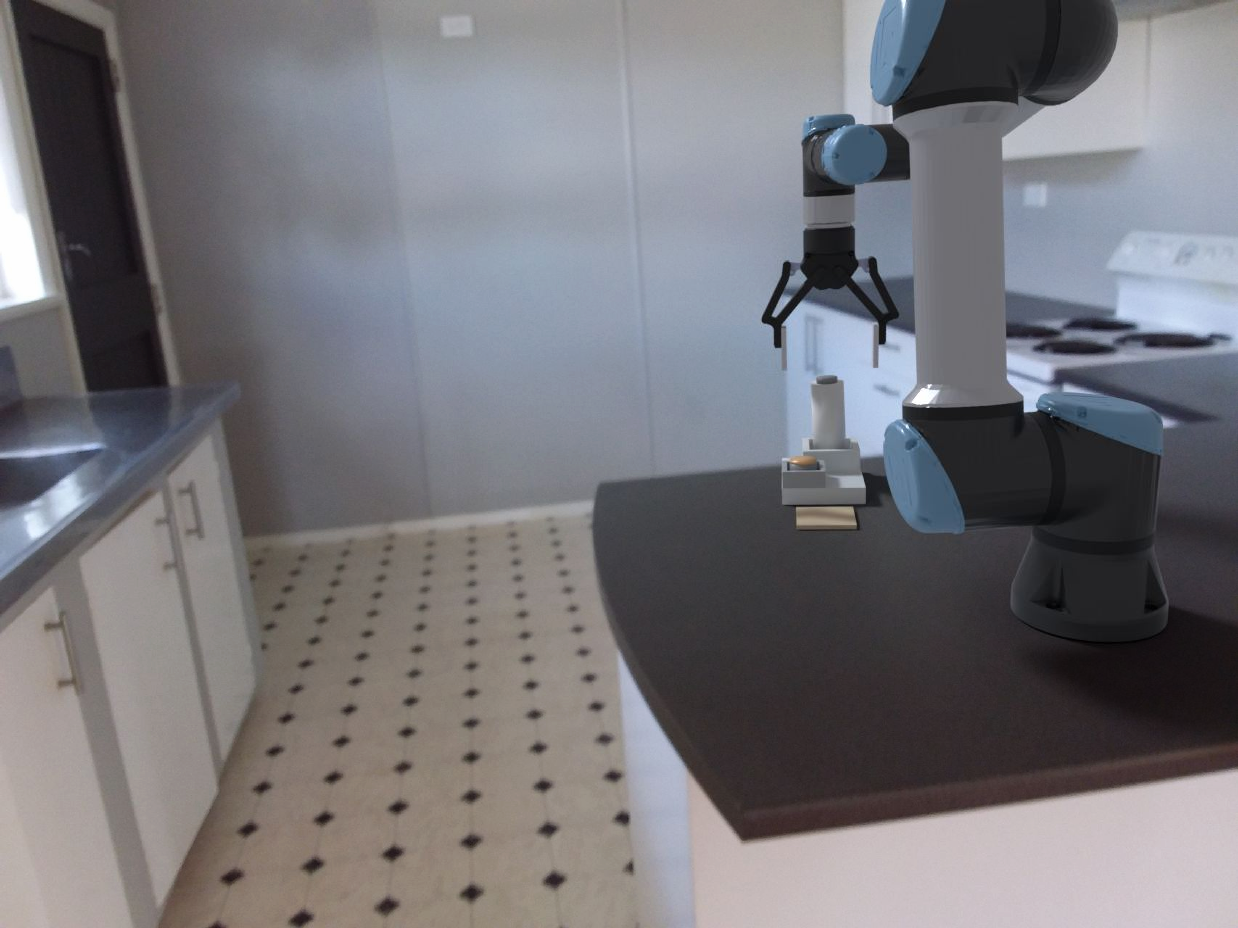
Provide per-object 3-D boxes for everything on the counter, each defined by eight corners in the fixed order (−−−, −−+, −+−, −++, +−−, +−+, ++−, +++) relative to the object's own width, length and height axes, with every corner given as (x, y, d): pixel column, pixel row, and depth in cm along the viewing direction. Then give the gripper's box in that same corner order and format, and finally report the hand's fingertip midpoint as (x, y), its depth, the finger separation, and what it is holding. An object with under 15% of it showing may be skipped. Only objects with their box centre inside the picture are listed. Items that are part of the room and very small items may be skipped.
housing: (865, 503, 146) (865, 464, 145) (782, 504, 148) (781, 465, 147) (857, 471, 162) (857, 435, 161) (782, 472, 164) (781, 437, 163)
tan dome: (817, 482, 148) (817, 462, 147) (790, 482, 148) (789, 463, 148) (816, 474, 151) (816, 455, 151) (789, 475, 152) (789, 456, 151)
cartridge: (848, 468, 155) (844, 379, 151) (815, 470, 156) (811, 381, 152) (845, 459, 160) (841, 373, 156) (813, 461, 160) (809, 375, 157)
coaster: (856, 529, 136) (856, 525, 136) (796, 529, 137) (796, 525, 137) (852, 510, 144) (852, 506, 144) (796, 511, 145) (796, 507, 145)
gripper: (913, 219, 149) (910, 360, 155) (744, 228, 154) (748, 365, 159) (919, 222, 142) (916, 369, 148) (742, 231, 147) (746, 374, 152)
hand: (829, 367), depth 154 cm, fingers open, 13 cm apart
